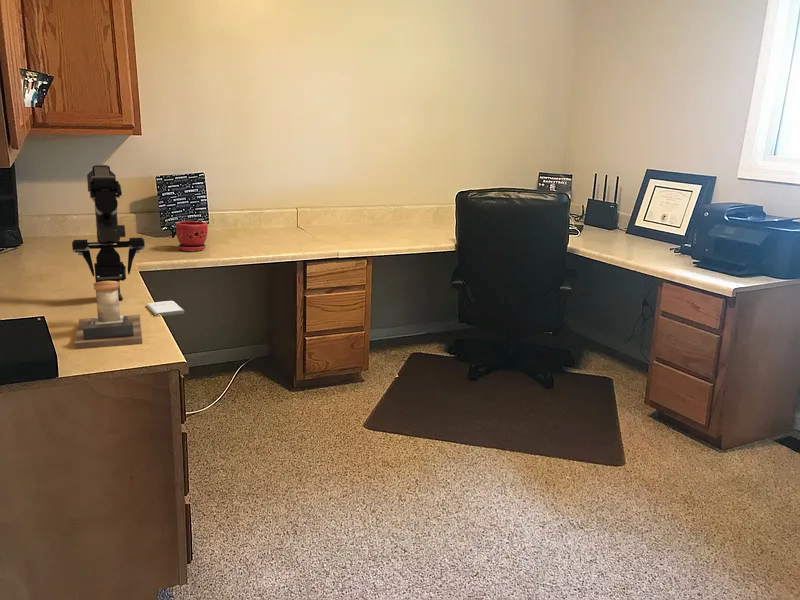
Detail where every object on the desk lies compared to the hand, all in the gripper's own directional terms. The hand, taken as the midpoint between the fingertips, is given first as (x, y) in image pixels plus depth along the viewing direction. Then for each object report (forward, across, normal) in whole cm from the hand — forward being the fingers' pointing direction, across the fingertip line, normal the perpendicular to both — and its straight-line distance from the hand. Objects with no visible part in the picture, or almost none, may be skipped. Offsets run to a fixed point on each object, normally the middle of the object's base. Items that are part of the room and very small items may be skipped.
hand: (111, 275), depth 194 cm
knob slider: (+14, -2, -3) cm, 14 cm away
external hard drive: (+11, +15, +13) cm, 22 cm away
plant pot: (-21, +36, +100) cm, 108 cm away
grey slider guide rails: (+15, -2, -7) cm, 17 cm away
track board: (+17, -2, -6) cm, 18 cm away
